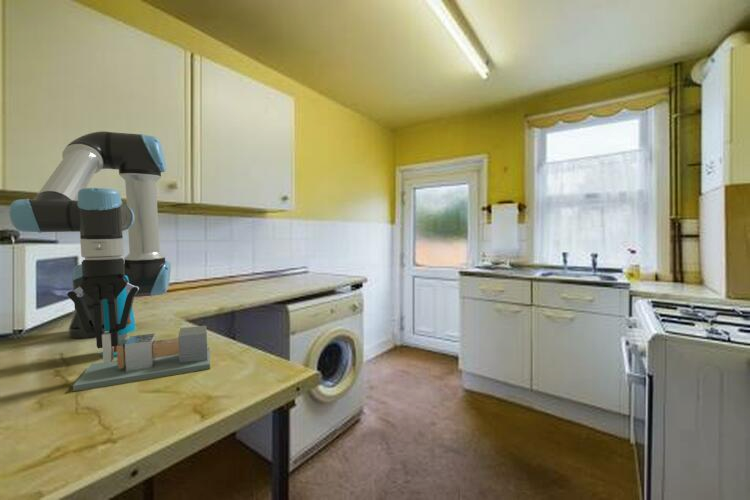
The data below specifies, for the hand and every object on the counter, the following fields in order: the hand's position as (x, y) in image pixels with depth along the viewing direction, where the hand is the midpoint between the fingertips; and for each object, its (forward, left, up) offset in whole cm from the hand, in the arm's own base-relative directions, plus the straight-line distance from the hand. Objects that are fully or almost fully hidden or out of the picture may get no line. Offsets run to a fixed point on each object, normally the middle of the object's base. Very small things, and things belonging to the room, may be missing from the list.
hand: (108, 360), depth 79 cm
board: (0, +8, -3) cm, 9 cm away
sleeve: (0, +6, -2) cm, 7 cm away
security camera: (-18, -2, -4) cm, 18 cm away
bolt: (0, +10, -1) cm, 10 cm away
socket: (0, +17, -2) cm, 17 cm away
